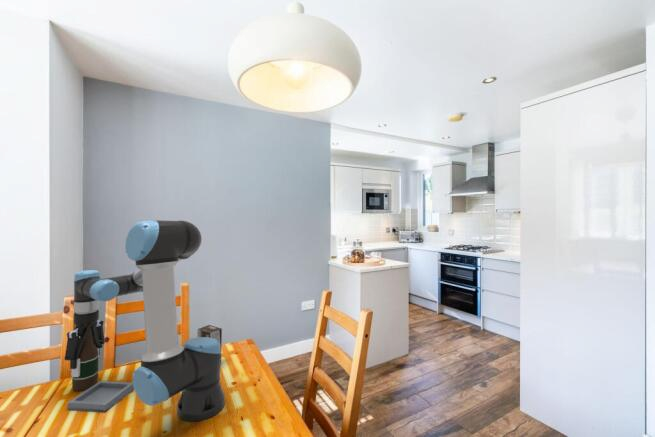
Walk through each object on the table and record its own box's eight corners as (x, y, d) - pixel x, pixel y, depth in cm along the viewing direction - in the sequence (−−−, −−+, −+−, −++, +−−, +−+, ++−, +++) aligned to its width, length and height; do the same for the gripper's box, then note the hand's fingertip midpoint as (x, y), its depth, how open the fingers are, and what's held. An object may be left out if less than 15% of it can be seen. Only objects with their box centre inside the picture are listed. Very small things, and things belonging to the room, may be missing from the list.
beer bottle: (83, 393, 110) (84, 328, 110) (66, 390, 112) (67, 326, 112) (103, 382, 118) (104, 321, 118) (86, 379, 119) (88, 319, 119)
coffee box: (221, 364, 133) (222, 328, 133) (209, 370, 128) (210, 333, 128) (208, 359, 138) (209, 324, 138) (196, 364, 133) (197, 328, 133)
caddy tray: (133, 389, 113) (133, 382, 113) (105, 412, 100) (105, 404, 100) (100, 387, 114) (100, 380, 114) (67, 409, 101) (67, 402, 101)
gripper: (99, 303, 125) (98, 357, 125) (50, 319, 105) (49, 384, 105) (116, 303, 125) (115, 358, 125) (71, 320, 104) (69, 386, 104)
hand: (85, 370), depth 115 cm, fingers closed on beer bottle, 8 cm apart
